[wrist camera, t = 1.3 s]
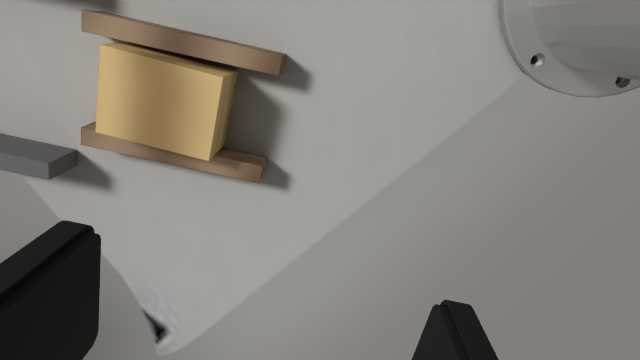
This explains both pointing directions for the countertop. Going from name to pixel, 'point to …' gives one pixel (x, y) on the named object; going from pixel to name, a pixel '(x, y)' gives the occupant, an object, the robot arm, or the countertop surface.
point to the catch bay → (34, 157)
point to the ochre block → (163, 99)
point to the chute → (193, 46)
